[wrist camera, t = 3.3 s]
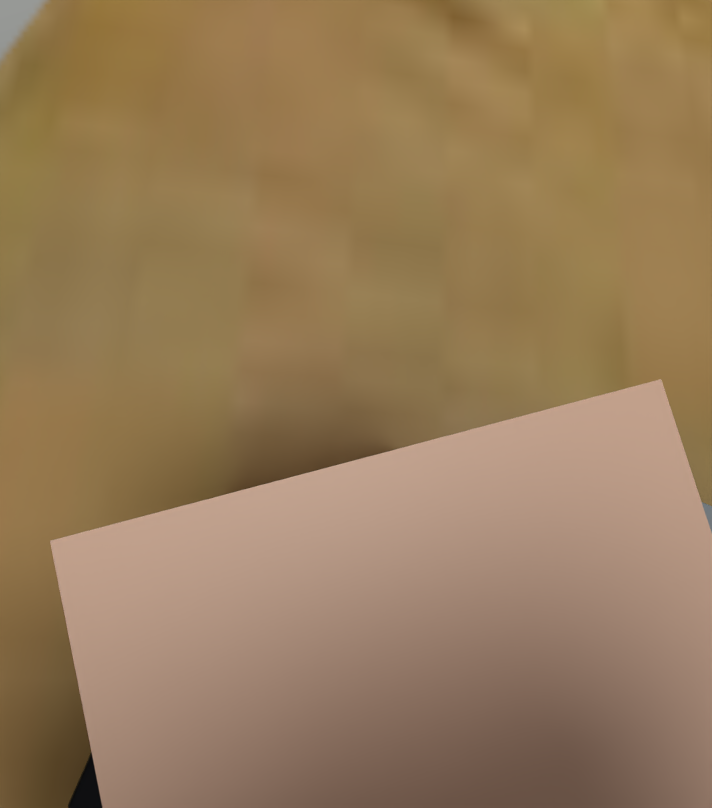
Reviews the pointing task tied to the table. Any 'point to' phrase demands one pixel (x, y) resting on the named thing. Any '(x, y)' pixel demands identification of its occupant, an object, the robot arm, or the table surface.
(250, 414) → the table surface
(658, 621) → the pink block
